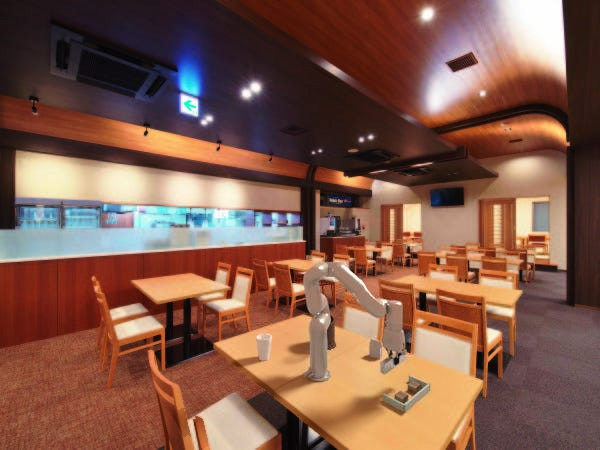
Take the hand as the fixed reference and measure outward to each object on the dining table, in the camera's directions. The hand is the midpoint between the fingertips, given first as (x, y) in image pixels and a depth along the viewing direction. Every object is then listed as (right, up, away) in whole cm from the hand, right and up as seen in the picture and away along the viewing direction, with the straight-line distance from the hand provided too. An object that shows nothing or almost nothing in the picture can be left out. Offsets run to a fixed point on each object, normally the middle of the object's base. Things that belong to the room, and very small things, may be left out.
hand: (393, 362), depth 135 cm
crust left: (0, -13, -9) cm, 16 cm away
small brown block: (+10, -13, -1) cm, 16 cm away
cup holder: (-31, -13, +47) cm, 58 cm away
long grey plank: (0, -1, 0) cm, 1 cm away
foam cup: (-69, -13, +31) cm, 76 cm away
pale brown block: (0, -13, +33) cm, 36 cm away
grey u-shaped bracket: (+5, -14, -5) cm, 15 cm away
